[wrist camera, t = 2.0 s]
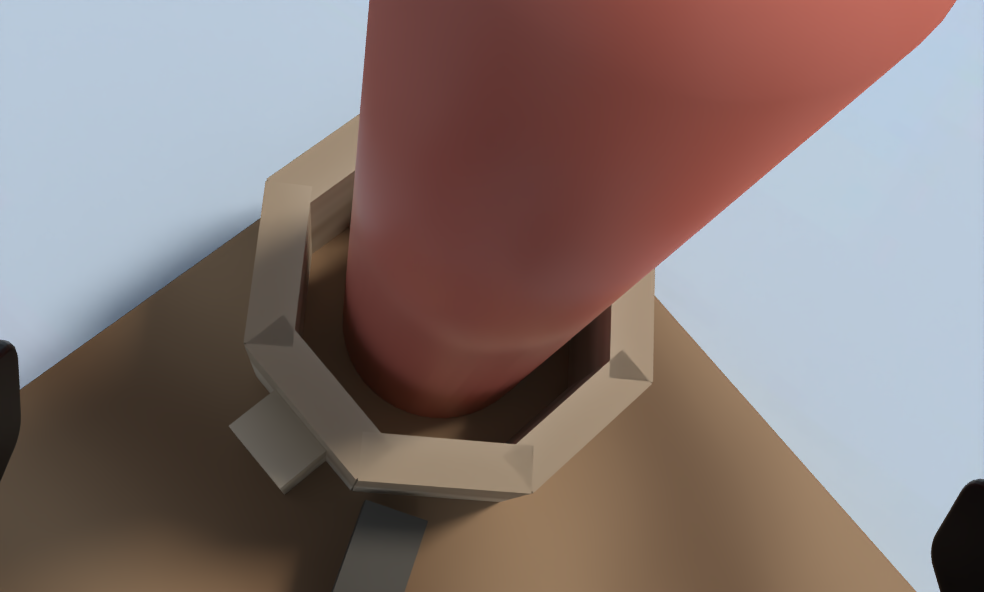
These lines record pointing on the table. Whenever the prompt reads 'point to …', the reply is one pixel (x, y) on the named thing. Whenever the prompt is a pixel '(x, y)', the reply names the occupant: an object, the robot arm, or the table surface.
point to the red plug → (568, 162)
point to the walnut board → (232, 535)
